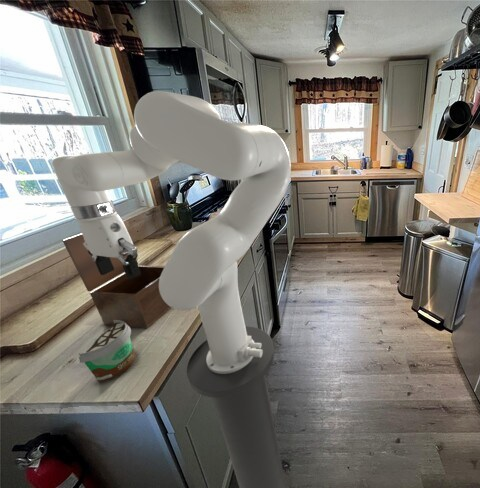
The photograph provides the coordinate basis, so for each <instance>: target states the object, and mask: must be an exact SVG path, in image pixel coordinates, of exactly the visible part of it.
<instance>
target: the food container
mask: <svg viewBox="0 0 480 488" xmlns="http://www.w3.org/2000/svg"><path fill="white" fill-rule="evenodd" d="M113 321H114V325H111V327H110V328H109V329H107V331H105V332H104V333H102V334H101V335H100V336H99V337H98V338H97V339H96V340H95V341H94V342H93V344H92V345H91V346H90V347H89V348H88V349H87V350H86V351H84V352H81V353H78V355H79V356H78V360H79V363H81V364H82V363H84V364H85V365H86V366H87V368H88V369H89V371H90V373H92V375H93V376H94V377H95V379H96V380H97V381H98V383H105V382H107V381H111V380H113V379H116V378H117V377H119V376H121V375H123V374H125V372H127V371H129V369H130V368H131V367H132V366H133V365H134V363H135V362H136V354H135V351H134V347H133V342H132V338H131V334H132V329H131V327H129V326H128V325H127V324H126V323H124V322H123V321H120V320H113Z"/></svg>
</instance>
